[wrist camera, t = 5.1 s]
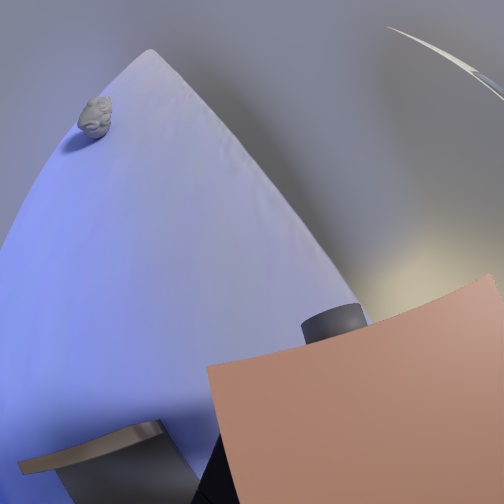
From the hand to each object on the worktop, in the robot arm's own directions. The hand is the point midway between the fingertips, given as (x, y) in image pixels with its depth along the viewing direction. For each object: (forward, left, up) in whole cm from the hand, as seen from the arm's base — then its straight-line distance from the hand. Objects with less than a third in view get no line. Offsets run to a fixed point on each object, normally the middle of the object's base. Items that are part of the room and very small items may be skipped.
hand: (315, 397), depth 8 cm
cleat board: (-4, +17, -13) cm, 22 cm away
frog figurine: (+45, +4, -14) cm, 48 cm away
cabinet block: (-1, 0, -7) cm, 7 cm away
